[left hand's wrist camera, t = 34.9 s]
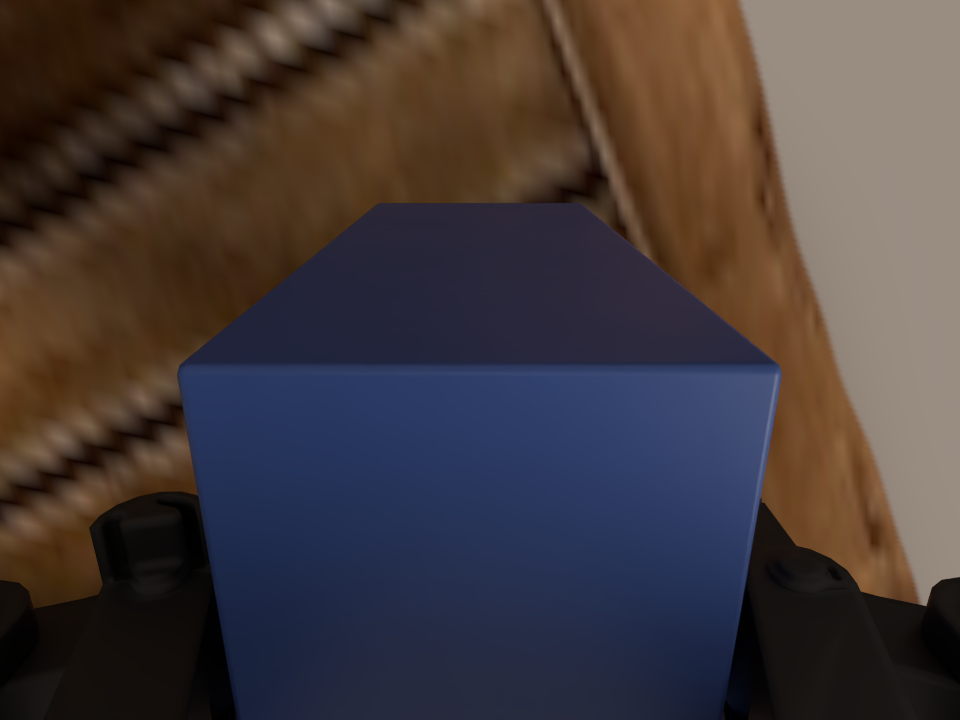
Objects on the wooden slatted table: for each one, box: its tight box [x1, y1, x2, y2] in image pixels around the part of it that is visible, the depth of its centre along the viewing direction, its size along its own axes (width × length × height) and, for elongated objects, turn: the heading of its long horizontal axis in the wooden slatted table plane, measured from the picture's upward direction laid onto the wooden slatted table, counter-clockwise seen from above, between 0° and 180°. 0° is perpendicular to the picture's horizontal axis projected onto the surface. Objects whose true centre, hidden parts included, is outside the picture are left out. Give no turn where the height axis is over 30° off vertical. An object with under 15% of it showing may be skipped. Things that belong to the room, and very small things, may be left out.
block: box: [178, 203, 781, 720], centre depth 11 cm, size 8×5×11 cm, turn 0°
